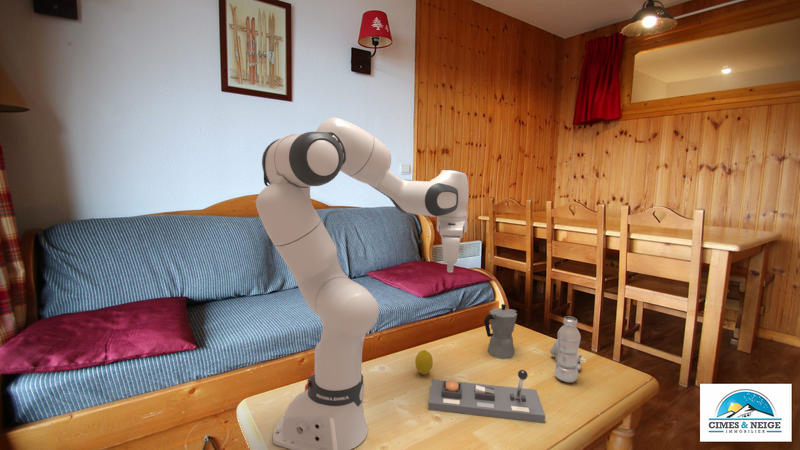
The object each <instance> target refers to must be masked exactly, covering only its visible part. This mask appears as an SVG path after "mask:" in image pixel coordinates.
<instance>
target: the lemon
mask: <svg viewBox="0 0 800 450" xmlns="http://www.w3.org/2000/svg"><path fill="white" fill-rule="evenodd" d="M414 361H415V362H414V363H415V369H416V370H417V371H418V373H421V374H423V375H426V374H428V373H429V372H430V371H431V370H432V369H433V365H434V360H433V356H432V354H431V353H430V352H429V351H427V350H426V349H423V350H421V351H419V352H417V354H416V356H415V360H414Z"/></svg>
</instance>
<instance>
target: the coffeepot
mask: <svg viewBox="0 0 800 450" xmlns="http://www.w3.org/2000/svg"><path fill="white" fill-rule="evenodd" d="M500 306H501V307H498V308H492V309H491V310H490V311H489V314H486V316H485V318H484V319H483V324H484V327H485V331H486V335H487V337H488V338H490V339H489V343H488V347H487V352H488V353H489V355H490V356H492V357H493V358H498V359H502V360H503V359H505V360H507V359H511V358H512V357H514V355H515V346H514V339H513V333H514V331H515V326H516V320H517V318H518V317H517V316H518V313H517V312H518V311H517V310H515V309H514V308H513V309H512V308H510V309H509V308H508V309H507V308H506V307H507V305H506V304H504V303H503V304H501V305H500ZM491 330H492V332H491Z"/></svg>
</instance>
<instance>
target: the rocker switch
mask: <svg viewBox="0 0 800 450" xmlns="http://www.w3.org/2000/svg"><path fill="white" fill-rule="evenodd" d="M475 392H476V393H485V394H494V390H493V389H489V388H485V387H481V386H478V385H476V387H475Z"/></svg>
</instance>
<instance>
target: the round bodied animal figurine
mask: <svg viewBox="0 0 800 450" xmlns="http://www.w3.org/2000/svg"><path fill="white" fill-rule="evenodd" d="M549 353H550V354H551V355H552V356H555V358H554V359H555V362H557V358H558V338H557V339H556V340H555V342H554V344H553V346H552V347H551V348H550V349H549ZM582 356H583V355H582V354H578V353H577V368H578V372H579V371H580V370H581V369H582V365H581V358H582Z"/></svg>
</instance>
